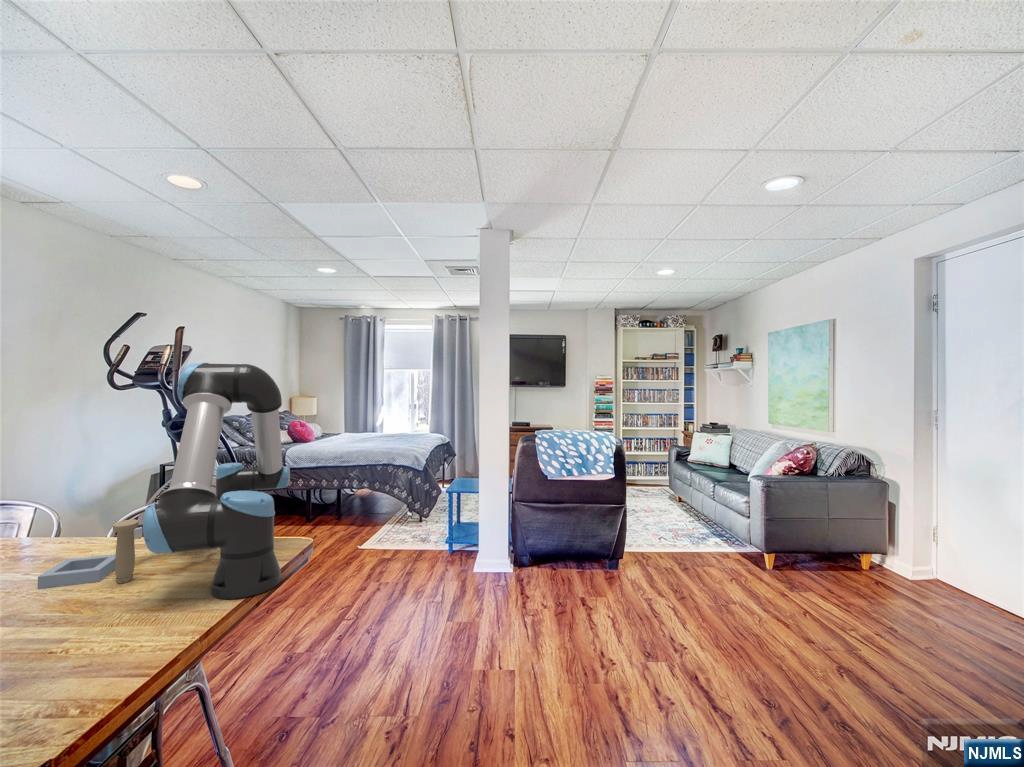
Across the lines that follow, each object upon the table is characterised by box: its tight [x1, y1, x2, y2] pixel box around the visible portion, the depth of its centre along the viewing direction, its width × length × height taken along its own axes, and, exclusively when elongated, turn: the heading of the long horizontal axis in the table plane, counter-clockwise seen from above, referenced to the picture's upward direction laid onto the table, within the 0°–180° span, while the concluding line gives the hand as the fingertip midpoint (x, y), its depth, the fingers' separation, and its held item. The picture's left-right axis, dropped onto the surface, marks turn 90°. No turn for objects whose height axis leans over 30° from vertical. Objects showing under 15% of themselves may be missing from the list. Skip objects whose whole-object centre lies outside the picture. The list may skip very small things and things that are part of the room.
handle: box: [112, 518, 139, 584], centre depth 113 cm, size 5×6×15 cm
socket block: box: [37, 553, 116, 590], centre depth 116 cm, size 12×12×3 cm
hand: (140, 540), depth 118 cm, fingers open, 13 cm apart
